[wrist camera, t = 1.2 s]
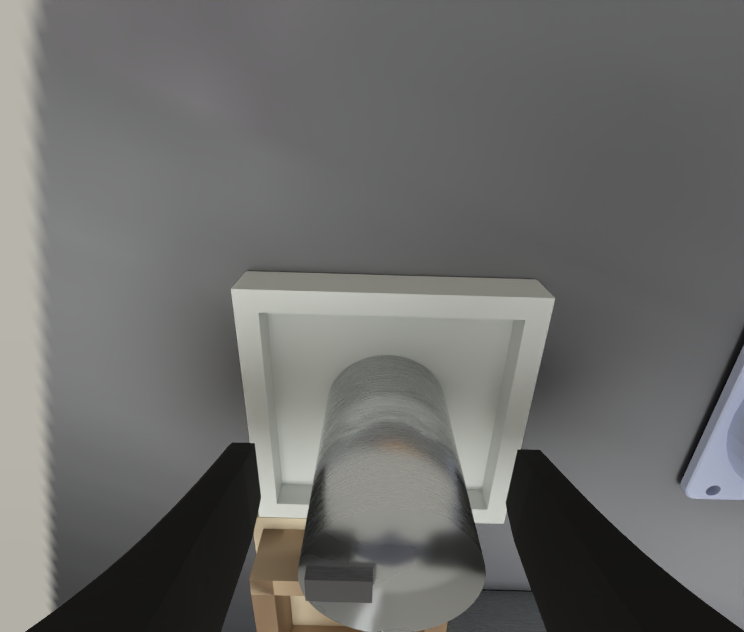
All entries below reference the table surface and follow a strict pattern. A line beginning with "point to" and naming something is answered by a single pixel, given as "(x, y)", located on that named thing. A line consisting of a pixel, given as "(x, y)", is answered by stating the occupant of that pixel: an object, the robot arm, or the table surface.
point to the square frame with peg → (500, 614)
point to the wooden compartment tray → (286, 581)
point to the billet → (389, 505)
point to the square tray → (387, 337)
